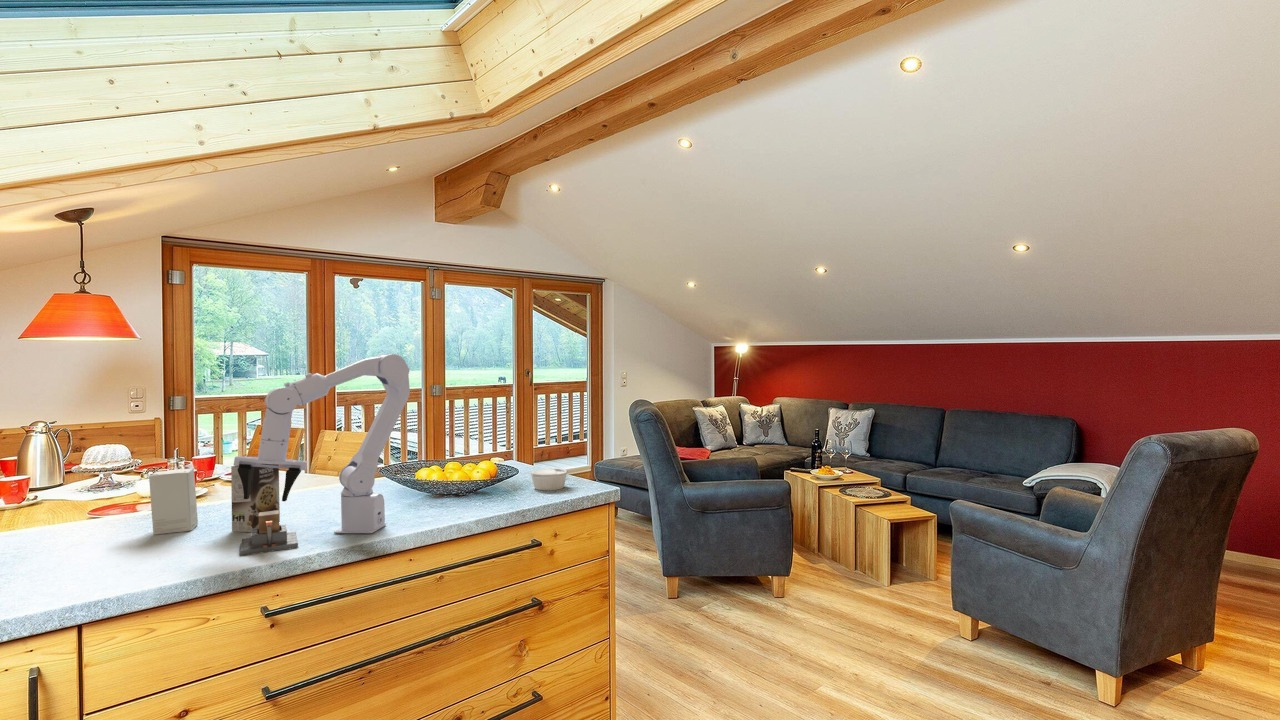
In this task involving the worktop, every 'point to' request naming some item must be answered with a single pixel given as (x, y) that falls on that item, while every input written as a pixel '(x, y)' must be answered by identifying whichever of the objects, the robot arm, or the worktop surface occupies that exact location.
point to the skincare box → (173, 501)
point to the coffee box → (254, 497)
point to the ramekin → (549, 479)
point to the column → (269, 516)
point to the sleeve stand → (268, 540)
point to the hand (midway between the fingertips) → (265, 499)
